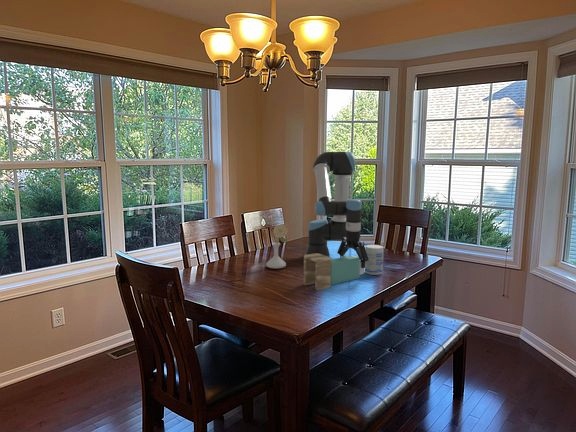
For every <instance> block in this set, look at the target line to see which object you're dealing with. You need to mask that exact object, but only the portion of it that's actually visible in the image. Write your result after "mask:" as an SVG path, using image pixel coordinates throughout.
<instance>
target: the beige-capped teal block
mask: <svg viewBox="0 0 576 432" xmlns="http://www.w3.org/2000/svg"><path fill="white" fill-rule="evenodd" d="M359 262H360V259H359V257H358V255H357V256H356V255H348V256H346V257H342V258H340V257H337V258H331V285H336V284H340V283H344V282H348V281H349V282H350V281H354V280H357V279H360V274H359Z"/></svg>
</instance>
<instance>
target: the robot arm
mask: <svg viewBox="0 0 576 432" xmlns="http://www.w3.org/2000/svg"><path fill="white" fill-rule="evenodd" d="M312 169H313V170H312V171H313V174H314V175H315V183H316V194H317V201H315V203H314V213H315V215H316V216H319V217H320V216H322V217H327V216H329V217H330V216H333V217H331V218H330V221H328V219H326V218H323V219H322V218H321V219H315V220H312V221H309V223H308V229H307V230H308V231H307V232H308V233H307V235H308V238H307V239H308V241H307V243H308V245H307V248H306V251H305V253H304V255H308V254H314V253H319V254H322V255H325V256H328V257H331V253H330V251H329V247H328V242H340V245H339V247H338V249H337V252H336V253H337V254H339V258H342V257H347V256H346V254H347V252H348V251H349V249H353V250H354V251H355V252H356V255H357V257H359V259H360V262H359V274H360V275H363V274H365V261H368V260H369V259H368V256H367V253H366V250H365V249H366V246H365V241H360V239H361V229H362V227H361V226H362V207H363V206H362V200H360V199H355V198H351V199H349V198H350V196H349V195H350V178H351V177H352V176H353V173H355V171H356V159H355V156H354V154H353V152H351V151H324V152H322V153H321V154H319V155H318V156H317V157H316V158H315V160H314V162H313V165H312ZM330 172H331V173H332V174H331V175H332V176H333V177H334V197H333V198H332V188H331V180H330V175H329V174H330ZM333 199H334V200H333ZM365 258H366V259H365ZM360 275H359V276H360Z"/></svg>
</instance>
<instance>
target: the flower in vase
mask: <svg viewBox="0 0 576 432" xmlns="http://www.w3.org/2000/svg"><path fill="white" fill-rule="evenodd" d="M288 232H289V229H288V228H287V226H286V225H284V224H282V223H281V224H277V225H275V226H274V228H273V230H272V233H273V236H274V237H276V238H278V239H279V240H277V239H275V238H273V240H274V241H276V242H272V243H271V245H272V246H273V257H272V258H270V259H269V260H268V261H267V262H266V264H265V266H266V267H267V268H270V269H284V268H285V267H286V266H287V263H286V262H285V260H283V259H282V258H281V257H280V256H279V249H280V248H279V247H280V246H281V243H280V242H282V243H286V242H288V240H287V239H286V238H285V237H286V236H287V234H288Z"/></svg>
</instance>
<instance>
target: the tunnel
mask: <svg viewBox="0 0 576 432" xmlns="http://www.w3.org/2000/svg"><path fill="white" fill-rule="evenodd" d="M331 259H332V257H331V256H330V257H328V256H325V255H322V254H319V253H314V254H308V255H305V254H304V255H303V285H304V286H310V285H313V284H314V286H315V288H314V289H315V290H316V291H322V290H325V289H329V288H331Z"/></svg>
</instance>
